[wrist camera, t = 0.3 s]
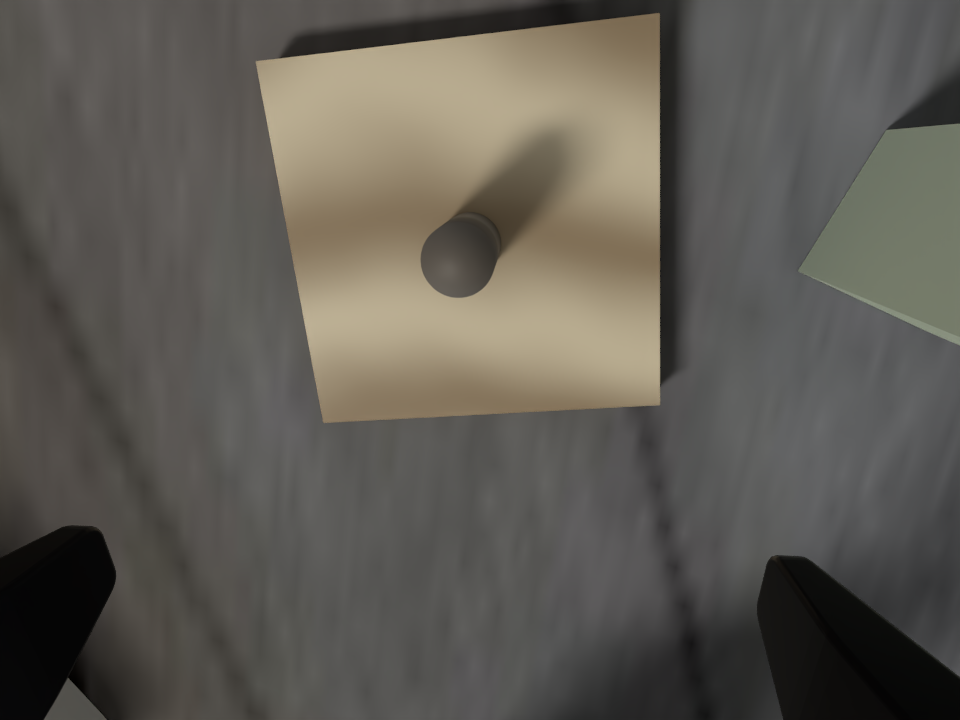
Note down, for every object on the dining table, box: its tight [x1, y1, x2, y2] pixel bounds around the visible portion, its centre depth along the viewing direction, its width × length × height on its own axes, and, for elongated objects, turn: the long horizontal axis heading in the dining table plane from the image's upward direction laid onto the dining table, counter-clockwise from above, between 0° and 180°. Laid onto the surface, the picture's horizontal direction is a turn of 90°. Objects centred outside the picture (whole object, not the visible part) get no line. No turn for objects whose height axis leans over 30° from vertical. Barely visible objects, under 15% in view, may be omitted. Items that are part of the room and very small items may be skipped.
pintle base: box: [256, 13, 660, 423], centre depth 18 cm, size 12×12×5 cm
